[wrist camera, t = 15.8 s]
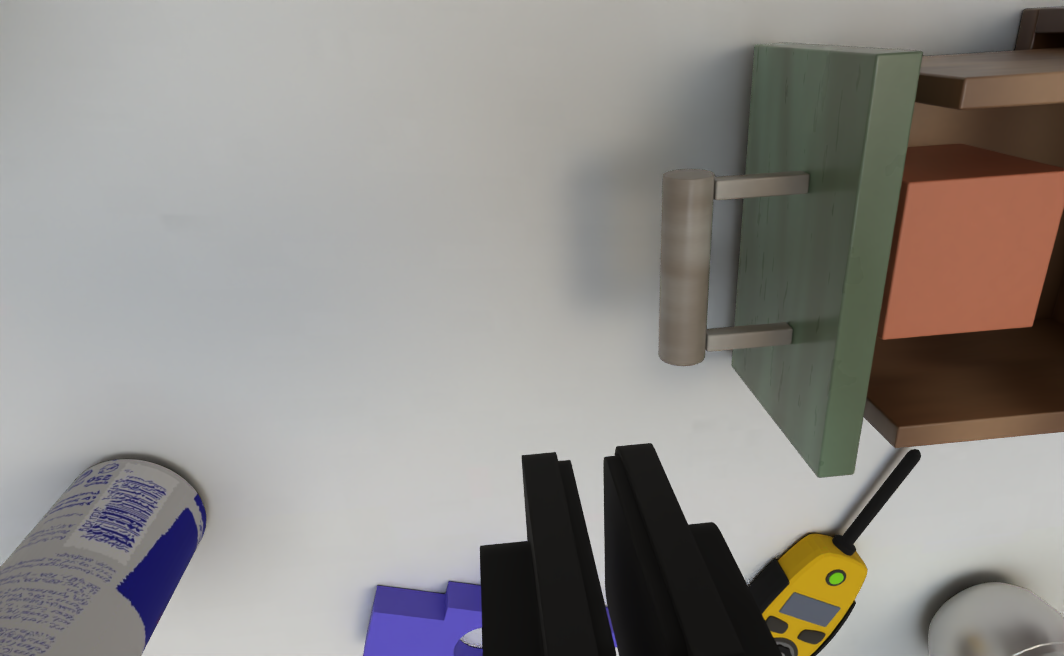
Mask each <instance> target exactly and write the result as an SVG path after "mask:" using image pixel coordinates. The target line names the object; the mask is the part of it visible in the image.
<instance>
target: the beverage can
mask: <svg viewBox="0 0 1064 656" xmlns="http://www.w3.org/2000/svg"><path fill="white" fill-rule="evenodd" d="M205 528H206V512H205V508H204V505H203V503H202V500H201V498H200V497H199V495H198V493H197V492H196V491H195V489H194V488H193V487H192V486H191V485H190V484H189V483H188V482H187V481H186V480H185V479H183V478H182V477H181V476H179V475H178V474H176V473H175V472H173V471H171V470H169V469H167V468H165V467H163V466H160V465H157V464H154V463H151V462H147V461H142V460H134V459H118V460H111V461H107V462H103V463H100V464H97V465H95V466H93V467H91V468H89V469H87V470H86V471H84V472H83V473H82V474H81V475H80V476H78V477H77V478H76V479H75V481H74V482H73V483H72V484H71V486H70V487H69V488H68V489H67V490H66V491H65V493H64V494H63V495H62V496H61V497H60V498H59V500H58V501H57V502H56V503H55V504H54V505H53V507H52V508H51V509H50V510H49V511H48V512H47V514H46V515H45V516H44V517H43V518H42V519H41V521H40V522H39V523H38V524H37V525H36V526H35V528H34V529H33V530H32V531H31V532H30V533H29V535H28V536H27V537H26V538H25V539H24V540H23V542H22V543H21V544H20V545H19V546H18V547H17V549H16V550H15V551H14V552H13V553H12V554H11V556H10V557H9V558H8V559H7V560H6V561H5V563H4V564H3V565H2V566H1V567H0V656H141V655H142V653H143V651H144V649H145V647H146V645H147V643H148V641H149V639H150V637H151V635H152V633H153V632H154V630H155V628H156V626H157V624H158V622H159V620H160V618H161V616H162V614H163V612H164V610H165V608H166V606H167V604H168V603H169V601H170V599H171V597H172V595H173V593H174V591H175V589H176V587H177V585H178V583H179V581H180V579H181V577H182V575H183V573H184V572H185V570H186V568H187V566H188V564H189V562H190V560H191V558H192V556H193V554H194V552H195V550H196V548H197V546H198V544H199V542H200V541H201V539H202V537H203V534H204V532H205Z"/></svg>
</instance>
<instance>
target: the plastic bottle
mask: <svg viewBox="0 0 1064 656" xmlns="http://www.w3.org/2000/svg"><path fill="white" fill-rule="evenodd" d="M928 648H929V655H930V656H1064V617H1063V616H1062V615H1061V613H1059V612H1058V611H1057V610H1056V609H1054V608H1053V607H1052V606H1050V605H1049V604H1048V603H1046V602H1045V601H1044V600H1042V599H1041V598H1040V597H1038V596H1037V595H1036V594H1034V593H1033V592H1031V591H1030V590H1028V589H1025V588H1023V587H1019V586H1015V585H1011V584H1007V583H1001V582H988V583H982V584H978V585H975V586H972V587H969V588H967V589H965V590H963V591H961V592H959V593H958V594H956V595H955V596H953V597H952V598H950V599H949V600H948V601H947V602H946V603H944V604H943V605H942V607H941V608H940V609H939V610H938V611H937V613H936V614H935V616H934V617H933V619H932V621H931V624H930V626H929V632H928Z"/></svg>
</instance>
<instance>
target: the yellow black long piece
mask: <svg viewBox="0 0 1064 656" xmlns="http://www.w3.org/2000/svg"><path fill="white" fill-rule="evenodd" d="M920 458H921V453H920V451H919V450H916V449H914V450H910V451H909V452H908V453H907V454H906V455H905V457H904V458H903V459H902V460H901V462H900V463H899V464H898V465H897V467H896V468H895V469H894V471H893V472H892V473H891V474H890V476H889V477H888V478H887V480H886V481H885V482H884V483H883V485H882V486H881V487H880V489H879V490H878V491H877V492H876V494H875V495H874V496H873V497H872V499H871V500H870V501H869V503H868V504H867V505H866V506H865V508H864V509H863V510H862V512H861V513H860V514H859V515H858V517H857V518H856V519H855V521H854V522H853V523H852V524H851V526H850V527H849V528H848V529H847V531H846V532H845V533H844V535H843V536H841V535H835V536H834V538H833V537H830V536H827V535H822V534H809V535H808V536H806V537H804V538H803V539H802V540H800V541H799V542H798V543H797V544H795V545H794V546H793V547H792V548H791V549H789V550H788V551H787V552H786V553H785V554H784V555H783V556H782V557H781V558H780V559H779V560H778V561H777V560H776V559H774V560H773V561H772V562H771V563H770V564H769V565H768V566H767V567H766V568H765V569H764V570H763V571H762V572H761V573H760V574H759V576H758V577H757V578H756V579H755V580H754V581H753V583H752V584H751V585H750V586H749V587H748V588H749V590H750V592H751V594H752V596H753V598H754V600H755V602H756V604H757V606H758V608H759V610H760V612H761V614H762V616H763V618H764V620H765V622H766V624H767V626H768V628H769V630H770V632H771V634H772V636H773V638H774V640H775V642H776V644H777V646H778V648H779V650H780V652H781V654H782V656H816V655H817V654H818V653H819V652H820V651H821V650H822V649H823V648H824V647H825V646H826V645H827V644H828V643H829V642H830V641H831V640H832V638H833V637H834V636H835V635H836V633H837V632H838V631H839V630H840V628H841V627H842V625H843V624H844V623H845V621H846V620H847V618H848V617H849V615H850V613H851V612H852V610H853V608H854V606H855V604H856V602H855V598H856V596H857V594H858V593H859V591H860V589H861V587H862V584H863V582H864V580H865V578H866V575H867V567H866V565H865V563H864V562H863V560H862V559H861V558H860V556H859V555H858V553H857V552H856V548H855V546H854V545H853V544H854V542H855V541H856V540H857V539H858V537H859V536H860V535H861V533H862V532H863V531H864V530H865V528H866V527H867V526H868V525H869V523H870V522H871V521H872V520H873V518H874V517H875V516H876V515H877V513H878V512H879V511H880V509H881V508H882V507H883V506H884V504H885V503H886V502H887V501H888V499H889V498H890V497H891V496H892V494H893V493H894V492H895V491H896V489H897V488H898V487H899V486H900V484H901V483H902V482H903V480H904V479H905V478H906V477H907V475H908V474H909V473H910V472H911V470H912V469H913V468H914V467H915V465H916V464H917V463H918V462H919V460H920Z"/></svg>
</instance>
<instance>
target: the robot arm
mask: <svg viewBox="0 0 1064 656" xmlns="http://www.w3.org/2000/svg"><path fill="white" fill-rule="evenodd" d="M522 469H523V483H524V497H525V511H526V525H527V539H528V541H523V542H513V543H503V544H494V545H484V546H480V570H481V609H482V648H483V656H616V651H615V646H614V641H613V637H612V632H611V628H610V624H609V620H608V616H607V611H606V607H605V603H604V599H603V595H602V590H601V586H600V582H599V578H598V574H597V569H596V565H595V561H594V557H593V553H592V548H591V544H590V540H589V536H588V532H587V527H586V523H585V519H584V515H583V511H582V506H581V502H580V498H579V494H578V490H577V485H576V481H575V477H574V473H573V469H572V464H571V461H570V460H566V461H558V459H557V454H556V452H553V453H542V454H532V455H522ZM604 536H605V590H606V599H607V605H608V610H609V615H610V619H611V623H612V627H613V631H614V635H615V639H616V644H617V648H618V652H619V656H782V654H781V652H780V650H779V648H778V646H777V644H776V642H775V640H774V638H773V636H772V634H771V632H770V630H769V628H768V626H767V624H766V622H765V620H764V618H763V616H762V614H761V612H760V610H759V608H758V606H757V604H756V602H755V600H754V598H753V596H752V594H751V592H750V590H749V588H748V586H747V584H746V582H745V580H744V578H743V576H742V574H741V572H740V570H739V568H738V566H737V564H736V562H735V560H734V558H733V556H732V554H731V552H730V550H729V548H728V546H727V544H726V542H725V540H724V538H723V536H722V534H721V532H720V530H719V529H718V527H717V525H715V524H714V523H713V522H709V523H699V524H690V525H688V523H687V521H686V519H685V517H684V514H683V512H682V510H681V508H680V505H679V503H678V501H677V498H676V496H675V494H674V492H673V489H672V487H671V485H670V483H669V480H668V478H667V476H666V474H665V471H664V469H663V467H662V465H661V462H660V460H659V458H658V456H657V453H656V451H655V449H654V447H653V445H652V444H651V443H648V444H637V445H626V446H617V447H616V450H615V456H608V457H604Z"/></svg>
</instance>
